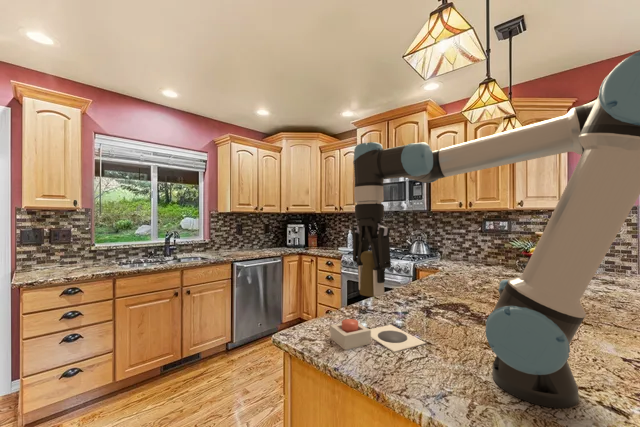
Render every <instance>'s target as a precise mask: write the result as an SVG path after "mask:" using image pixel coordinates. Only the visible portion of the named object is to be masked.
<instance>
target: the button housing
mask: <svg viewBox="0 0 640 427" xmlns="http://www.w3.org/2000/svg"><path fill="white" fill-rule="evenodd" d="M329 330H330V334H329V335H330V339H331V340H332V341H333V342H334V343H336V344H337V345H338V346H339V347H341V348H342V349H343V350H344V351H347V350H351V349H355V348H359V347H363V346H367V345H371V344H372V338H371V330H369V328H368V327H367V326H364V325H363V324H361V323H359V322H358V331H354V332H349V333H346V332H344V331H343V330H342V322H341V323H337V324H330V326H329Z"/></svg>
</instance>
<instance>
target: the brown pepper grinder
mask: <svg viewBox="0 0 640 427" xmlns="http://www.w3.org/2000/svg"><path fill="white" fill-rule="evenodd" d="M360 258H361V262H362V263H363V267H362V276H361V285H360V290H359V294H360V296H364V297H376V298H377V296H374V288H373V268H375V264H374V259H373V254H372V250H368V251H365V252H362V254H361V257H360Z"/></svg>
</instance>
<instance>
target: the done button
mask: <svg viewBox="0 0 640 427" xmlns="http://www.w3.org/2000/svg"><path fill="white" fill-rule="evenodd" d="M341 323H342V330H343V331H344V332H346V333H349V332H354V331H358V323H359V321H358V320H357V319H353V318H345V319H343V320H341Z"/></svg>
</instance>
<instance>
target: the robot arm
mask: <svg viewBox="0 0 640 427" xmlns="http://www.w3.org/2000/svg"><path fill="white" fill-rule="evenodd" d="M353 149H354V151H353V162H352V163H353V171H354V172H353V175H354V194H353V195H354V203H355V206H354V218H355V219H356V220H358V224H357V225H356V226H352V227H351V230H352V231H351V232H352V235H353V236H352V262H355V263H356V265H357V276H358V290H359V291H360V285H361V276H362V267H363V263H362V262H361V258H360V257H361V254H362V252H365V251H369V248H371V251H372V254H373V259H374V264H375V268H373V288H374V296H376V297H380V296H381V297H382V296H385V282H386V277H385V275H386V274H385V271H386V269H389V268H391V266H392V262H391V247H390V233H391V228H390V227H389V226H384V225H383V224H382V219H383V218H384V217H385V204H383V202H384V201H385V199H384V181H385V180H389V179H399V178H402V179H403V178H404V179H409V180H414V181H417V182H419V183H424V184H427V183H434V182H436V181H438V180H439V179H443V178H447V177H452V176H458V175H462V174H467V173H472V172H477V171H482V170H487V169H492V168H496V167H497V168H498V167H501V166H506V165H511V164H512V165H513V164H516V163H521V162H525V161H526V162H527V161H530V160H532V161H533V160H536V159H540V158H545V157H550V156H554V155H555V156H557V155H561V154H565V153H570V152H572V153H573V152H574V153H575V154H577V155H581V156H580V158H579V160H578V162H577V164H576V166H575V168H574V170H573V172H572V173H571V176H570V178H569V179H568V181H567V184H566V186H565V188H564V190H563V192H562V194H561V196H560V198H559V200H558V202H557V203H556V206H555V208H554V209H553V212H552V214H551V216H550V218H549V219H548V222H547V224H546V226H545V227H544V229H543V232H542V234H541V236H540V238H539V240H538V242H537V244H536V246H535V247H534V249H533V252H532V254H531V256H530V258H529V260H528V262H527V263H526V266H525V268H524V269H523V272H522V273H521V275H519V276H516V277H511V278H509V279H502V280H501V281H500V282H499V287H498V288H497V289H498V292H499V298H498V300H497V302H496V304H495V307H494V309H493V310H492V312H491V313H489V315H488V317H486V321H485V337H486V340H487V343H488V345H489V346H490V347H489V348H490V349H491V350H492V352H493V353H494V354H495V358H494V361H493V363H492V367H491V368H492V379H493V381H494V382H495V384H496V385H497V386H498V387H500V388H501V389H502V390H504V391H505V392H506V393H508V394H510V395H512V396H513V397H516V398H518V399H521V400H523V401H524V402H529V403H531V404H535V405H538V406H543V407H547V408H555V409H557V408H558V409H562V408H563V409H565V408H566V409H567V408H570V407H574V406H575V405H577V404H578V403H579V399H580V398H579V388H578V385H577V384H578V383H576V382H577V381H576V379H575V376H574V374H573V372H572V369H571V366H570V365H569V362H568V360H569V358H570V352H571V349H570V348H571V347H570V344H571V342H572V340H573V338H574V337H575V335H576V333H577V331H578V330H579V329H580V326H581V324H582V322H583V321H584V320H585V318H586V316H587V312H586V311H585V310H584V308H583V306H582V304H581V299H582V297H583V295H584V293H585V292H586V290H587V288H588V286H589V285H590V283H591V281H592V280H593V278H594V276H595V274H596V273H597V271H598V269H599V267H600V266H601V263H603V260H604V258H605V256H606V255H607V254H608V252H609V250H610V248H611V246H612V244H613V243H614V241H615V239H616V236H618V233H619V231H620V230H621V229H622V227H623V225H624V223H625V221H626V220H627V218H628V216H629V214H630V213H631V210H633V208H634V206H635V204H636V202H637V200H638V198H639V197H640V50H638V51H637V52H635V53H634V54H632V55H629V56H628V57H626V58H625V59H623V60H622V61H621V62H619V63H618V64H617V65H616V66H615V67H614V68H613V69H612V70H611V71H610V72H609V74H607V75H606V76H605V78H604V79H603V81H602V82H601V85H600V87H599V91H598V96H597V98H596V99H595V100H593V101H590V102H588V103H586V104H582V105H579V106H576V107H572V108H571V109H570V110H569V111H568V112H567V113H566V114H565V115H562V116H557V117H554V118H553V117H552V118H551V119H546V120H543V121H539V122H535V123H532V124H528V125H525V126H521V127H517V128H514V129H509V130H506V131H503V132H498V133H495V134H491V135H487V136H483V137H480V138H477V139H473V140H469V141H465V142H462V143H459V144H453V145H451V146H447V147H444V148H440V149H437V150H432V148H431V146H430V144H428V143H427V142H411V143H408V144H404V145H399V146H393V147H388V148H383V144H381V143H380V142H376V141H375V142H374V141H373V142H371V141H370V142H363V143H358V144H357V145H356V146H355V147H354V148H353Z"/></svg>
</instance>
